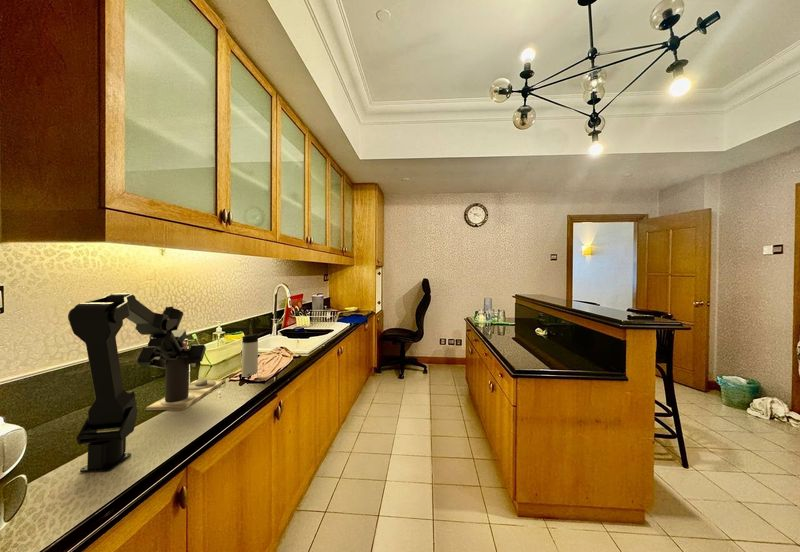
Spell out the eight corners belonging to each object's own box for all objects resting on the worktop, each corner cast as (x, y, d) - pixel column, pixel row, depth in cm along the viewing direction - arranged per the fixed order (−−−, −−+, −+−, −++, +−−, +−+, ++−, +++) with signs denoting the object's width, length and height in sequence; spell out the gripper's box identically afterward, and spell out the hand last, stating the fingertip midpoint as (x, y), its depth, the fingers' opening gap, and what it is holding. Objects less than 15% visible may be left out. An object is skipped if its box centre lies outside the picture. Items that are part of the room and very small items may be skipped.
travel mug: (251, 382, 128) (252, 335, 128) (238, 380, 129) (239, 334, 129) (261, 377, 134) (261, 333, 134) (248, 376, 135) (249, 332, 136)
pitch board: (183, 409, 101) (183, 401, 101) (146, 410, 100) (146, 402, 100) (224, 382, 128) (224, 375, 128) (195, 382, 127) (195, 375, 127)
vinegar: (162, 399, 106) (163, 343, 106) (185, 393, 111) (186, 340, 111) (167, 404, 101) (169, 346, 102) (191, 398, 107) (192, 343, 107)
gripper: (204, 322, 106) (214, 346, 116) (142, 323, 101) (158, 348, 111) (195, 349, 98) (206, 372, 108) (127, 352, 93) (146, 376, 104)
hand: (180, 366), depth 108 cm, fingers open, 9 cm apart
